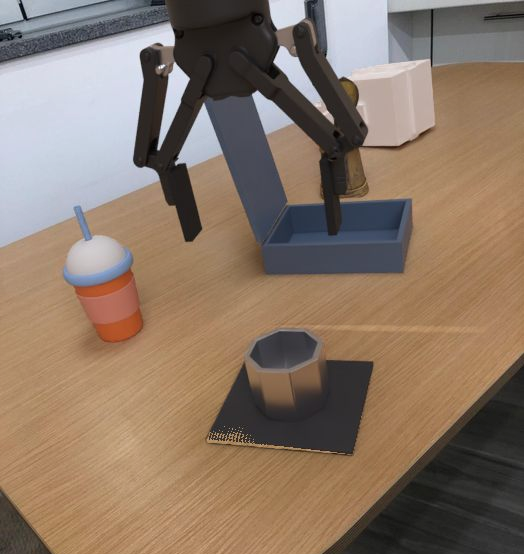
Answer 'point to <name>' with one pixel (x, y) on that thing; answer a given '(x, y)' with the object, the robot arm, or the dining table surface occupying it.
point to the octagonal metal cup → (288, 373)
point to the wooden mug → (352, 153)
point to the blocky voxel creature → (393, 101)
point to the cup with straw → (104, 283)
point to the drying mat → (309, 432)
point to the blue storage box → (340, 239)
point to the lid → (248, 160)
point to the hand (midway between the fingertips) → (261, 232)
